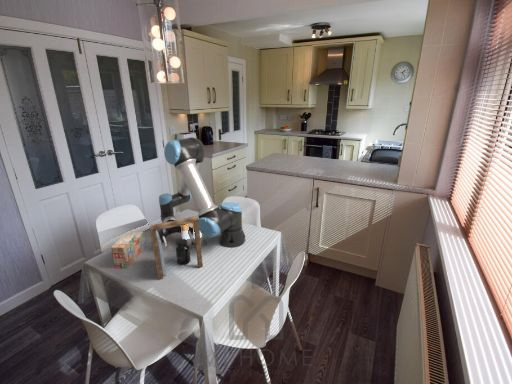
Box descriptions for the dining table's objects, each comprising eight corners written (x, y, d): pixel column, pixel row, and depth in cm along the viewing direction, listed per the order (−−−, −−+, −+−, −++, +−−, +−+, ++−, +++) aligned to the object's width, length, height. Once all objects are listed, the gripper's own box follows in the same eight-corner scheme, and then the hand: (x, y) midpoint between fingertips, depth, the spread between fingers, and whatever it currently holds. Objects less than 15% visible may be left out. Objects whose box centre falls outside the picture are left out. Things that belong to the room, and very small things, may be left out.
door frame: (201, 264, 136) (197, 215, 126) (202, 267, 134) (198, 217, 125) (158, 277, 127) (149, 225, 118) (158, 279, 125) (150, 227, 116)
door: (156, 260, 139) (151, 229, 133) (161, 259, 140) (156, 228, 134) (160, 276, 127) (155, 242, 120) (166, 274, 128) (161, 241, 121)
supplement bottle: (177, 266, 134) (174, 245, 130) (177, 259, 141) (174, 238, 137) (191, 264, 136) (189, 243, 132) (190, 257, 142) (188, 236, 138)
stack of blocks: (135, 246, 154) (131, 226, 150) (146, 246, 153) (142, 226, 149) (115, 268, 134) (110, 247, 130) (127, 269, 133) (123, 247, 129)
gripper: (192, 226, 166) (202, 241, 148) (149, 235, 155) (155, 253, 137) (191, 214, 163) (201, 229, 145) (147, 223, 152) (153, 240, 135)
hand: (179, 241), depth 141 cm, fingers open, 13 cm apart
